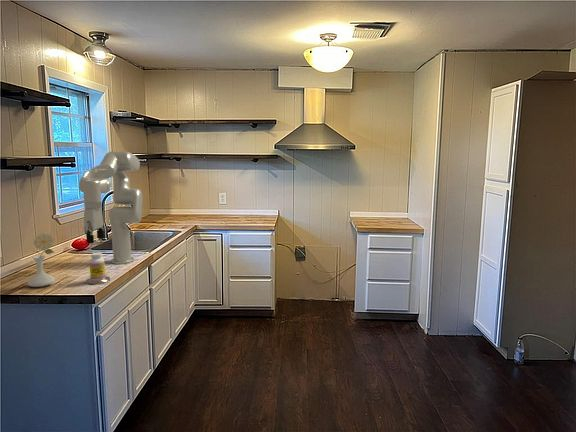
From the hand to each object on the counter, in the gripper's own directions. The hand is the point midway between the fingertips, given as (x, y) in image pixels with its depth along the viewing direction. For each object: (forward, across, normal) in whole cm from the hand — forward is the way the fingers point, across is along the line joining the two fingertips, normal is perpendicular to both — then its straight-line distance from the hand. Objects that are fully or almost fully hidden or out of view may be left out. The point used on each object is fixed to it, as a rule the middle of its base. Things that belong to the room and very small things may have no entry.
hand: (95, 240), depth 201 cm
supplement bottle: (+20, 0, 0) cm, 20 cm away
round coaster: (+20, 0, 0) cm, 20 cm away
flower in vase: (+20, +8, -23) cm, 32 cm away
